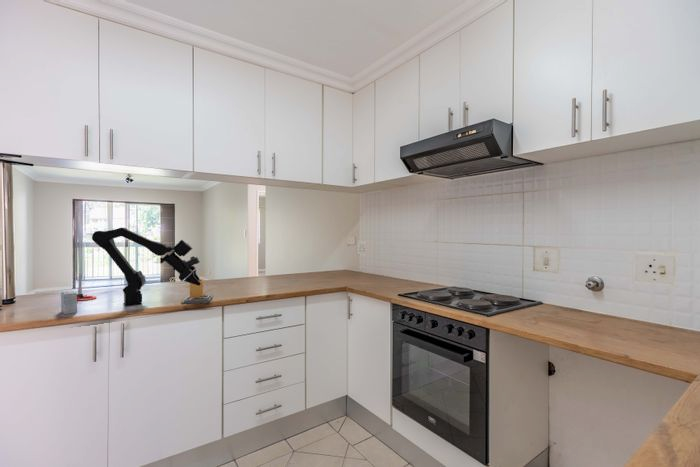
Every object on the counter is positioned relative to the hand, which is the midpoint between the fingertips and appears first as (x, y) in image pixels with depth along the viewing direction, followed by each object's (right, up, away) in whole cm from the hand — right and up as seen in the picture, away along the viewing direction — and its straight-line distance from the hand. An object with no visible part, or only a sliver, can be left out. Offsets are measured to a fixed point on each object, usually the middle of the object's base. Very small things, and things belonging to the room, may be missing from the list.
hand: (200, 283), depth 165 cm
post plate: (-1, -8, 0) cm, 9 cm away
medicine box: (-46, -9, -25) cm, 53 cm away
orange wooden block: (-1, -7, 0) cm, 7 cm away
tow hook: (-60, -8, +1) cm, 61 cm away
